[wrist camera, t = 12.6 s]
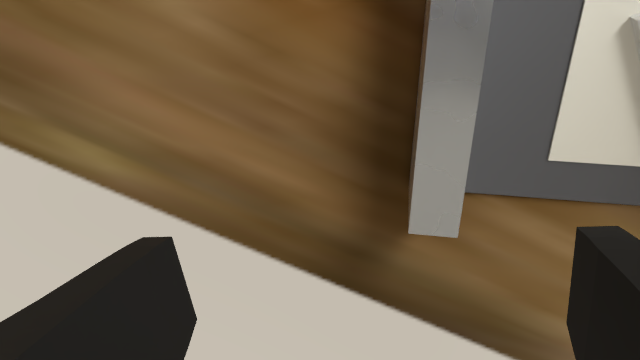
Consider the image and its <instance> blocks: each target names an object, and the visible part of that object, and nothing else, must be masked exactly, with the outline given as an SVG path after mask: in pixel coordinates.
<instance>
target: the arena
mask: <svg viewBox="0 0 640 360" xmlns="http://www.w3.org/2000/svg"><path fill="white" fill-rule="evenodd" d="M638 13H640V0H426V9H425V19H424V30H423V41H422V51H421V62H420V73H419V83H418V94H417V105H416V115H415V126H414V137H413V147H412V158H411V169H410V179H409V218H408V233H409V234H420V235H431V236H443V237H454V238H458V232H459V225H460V219H461V212H462V206H463V199H464V193H465V192H468V193H481V194H495V195H508V196H521V197H534V198H547V199H560V200H573V201H586V202H599V203H613V204H626V205H639V206H640V62H639V57H638V53H637V48H636V43H635V39H634V34H633V30H632V25H631V20H630V16H633V15H635V14H638Z"/></svg>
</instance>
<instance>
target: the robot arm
mask: <svg viewBox="0 0 640 360" xmlns="http://www.w3.org/2000/svg"><path fill="white" fill-rule="evenodd" d="M196 321H197V317H196V314H195V311H194V308H193V304H192V301H191V298H190V294H189V291H188V288H187V285H186V281H185V278H184V275H183V272H182V268H181V265H180V262H179V259H178V255H177V252H176V249H175V246H174V242H173V239H172V237H143V238H141V239H139V240H137V241H135V242H133V243H131V244H129V245H127V246H125V247H124V248H122V249H120V250H118V251H117V252H115V253H113V254H112V255H110V256H108V257H107V258H105V259H103V260H102V261H100V262H98V263H97V264H95V265H94V266H92V267H90V268H89V269H87V270H86V271H84V272H82V273H81V274H79V275H78V276H76V277H74V278H73V279H71V280H70V281H68V282H66V283H65V284H63V285H62V286H60V287H58V288H57V289H55V290H54V291H52V292H51V293H49V294H47V295H46V296H44V297H43V298H41V299H39V300H38V301H36V302H34V303H32V304H31V305H29V306H27V307H26V308H24V309H22V310H21V311H19V312H17V313H15V314H14V315H12V316H10V317H9V318H7V319H5V320H3V321H2V322H0V360H184V357H185V355H186V352H187V349H188V346H189V343H190V340H191V337H192V333H193V330H194V327H195V324H196ZM567 327H568V331H569V335H570V339H571V342H572V346H573V350H574V354H575V358H576V360H640V240H639V239H637V238H636V237H634V236H633V235H631V234H630V233H628V232H627V231H625V230H623V229H622V228H620V227H619V226H598V227H577V231H576V240H575V249H574V258H573V268H572V277H571V286H570V296H569V305H568V314H567Z"/></svg>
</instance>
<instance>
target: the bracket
mask: <svg viewBox="0 0 640 360" xmlns="http://www.w3.org/2000/svg"><path fill="white" fill-rule="evenodd" d="M630 20H631V25H632V30H633V34H634V39H635V43H636V48H637V53H638V57H639V62H640V13H638V14H635V15H633V16H630Z"/></svg>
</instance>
